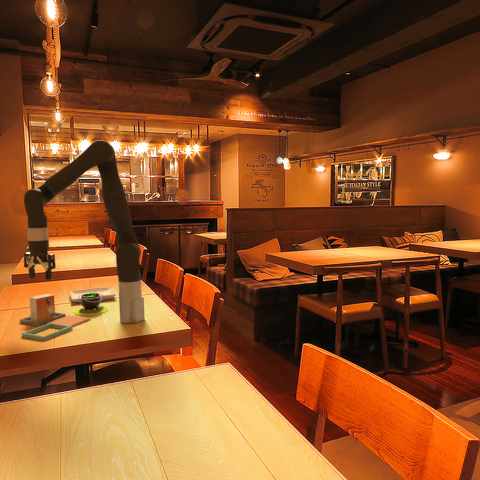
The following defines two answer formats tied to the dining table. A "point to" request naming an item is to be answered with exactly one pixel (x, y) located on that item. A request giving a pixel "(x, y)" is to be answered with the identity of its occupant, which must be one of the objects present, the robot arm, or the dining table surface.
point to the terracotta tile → (70, 320)
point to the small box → (42, 307)
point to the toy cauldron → (90, 304)
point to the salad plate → (104, 291)
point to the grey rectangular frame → (27, 321)
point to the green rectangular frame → (63, 329)
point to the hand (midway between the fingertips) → (40, 278)
